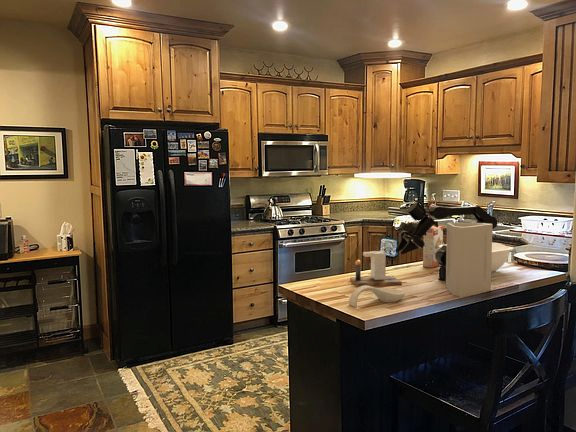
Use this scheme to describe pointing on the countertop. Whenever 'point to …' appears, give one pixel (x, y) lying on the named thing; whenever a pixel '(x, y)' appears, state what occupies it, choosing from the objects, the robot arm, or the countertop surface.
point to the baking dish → (497, 255)
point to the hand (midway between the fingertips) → (398, 252)
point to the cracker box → (432, 246)
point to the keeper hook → (358, 269)
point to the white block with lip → (377, 264)
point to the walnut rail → (375, 281)
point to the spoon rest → (377, 294)
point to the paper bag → (468, 258)
